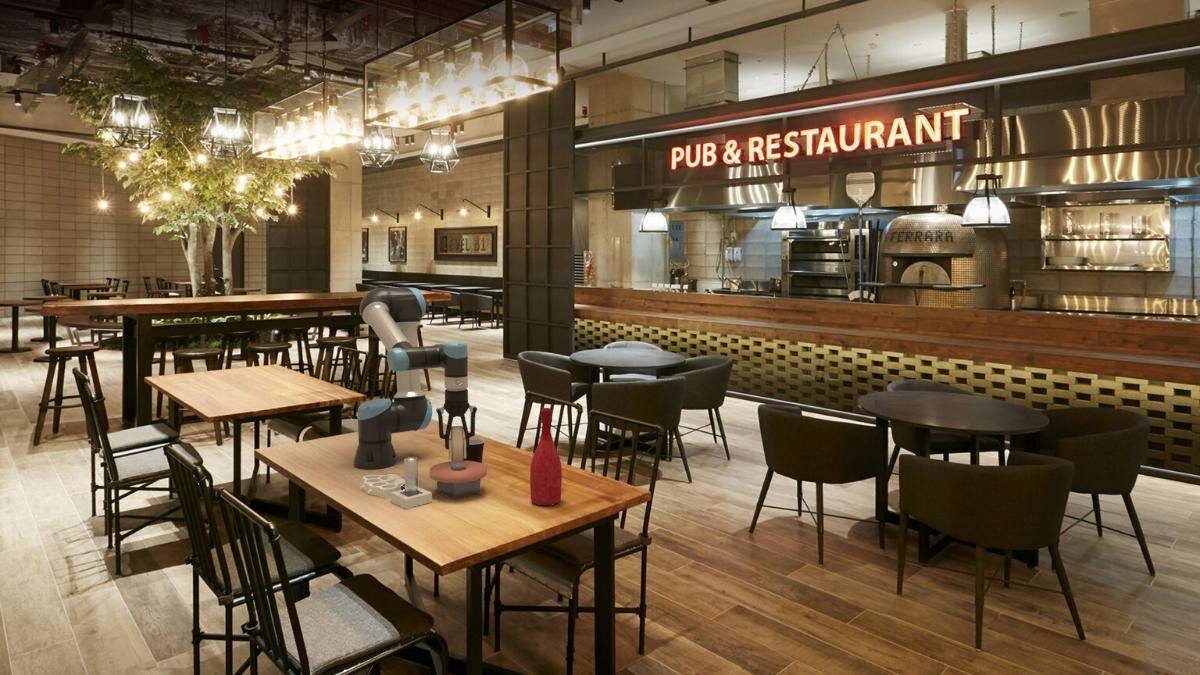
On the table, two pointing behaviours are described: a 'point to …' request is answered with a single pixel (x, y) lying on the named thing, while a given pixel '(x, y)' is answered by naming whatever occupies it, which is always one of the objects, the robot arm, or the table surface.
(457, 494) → the valve housing
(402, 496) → the eye block
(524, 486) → the table surface
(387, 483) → the knuckle duster
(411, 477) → the steel pin
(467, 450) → the coffee mug
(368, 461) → the robot arm
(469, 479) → the handwheel
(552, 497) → the wine bottle
